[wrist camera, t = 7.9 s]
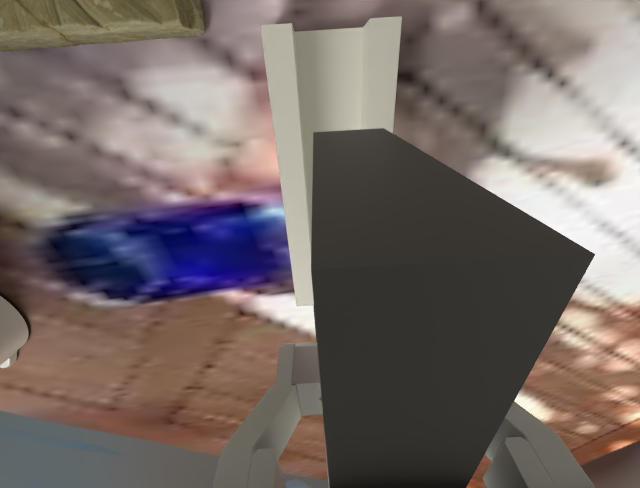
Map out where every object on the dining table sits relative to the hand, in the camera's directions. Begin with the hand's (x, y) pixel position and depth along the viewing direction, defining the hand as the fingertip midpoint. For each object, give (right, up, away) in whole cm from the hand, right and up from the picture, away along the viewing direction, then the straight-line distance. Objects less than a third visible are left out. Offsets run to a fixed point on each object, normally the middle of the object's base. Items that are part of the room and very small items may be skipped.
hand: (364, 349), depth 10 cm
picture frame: (0, +3, +5) cm, 6 cm away
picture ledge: (0, +10, +16) cm, 19 cm away
